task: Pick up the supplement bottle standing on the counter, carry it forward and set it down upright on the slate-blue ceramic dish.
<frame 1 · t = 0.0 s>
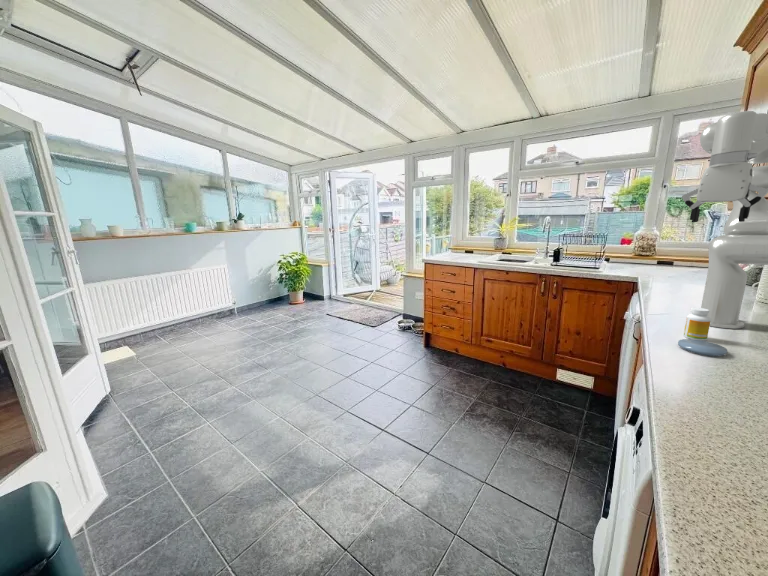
hand: (716, 221, 91), 37 cm above the countertop, tool pointing down, fingers open, 9 cm apart
supplement bottle: (694, 338, 99), on the countertop
dish: (700, 350, 90), on the countertop
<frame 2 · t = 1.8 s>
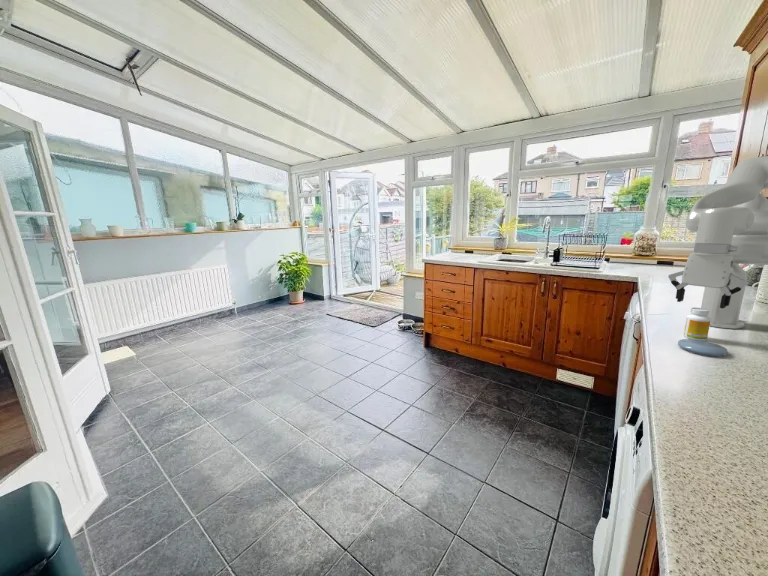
hand: (700, 304, 96), 11 cm above the countertop, tool pointing down, fingers open, 9 cm apart
nothing on the countertop moved.
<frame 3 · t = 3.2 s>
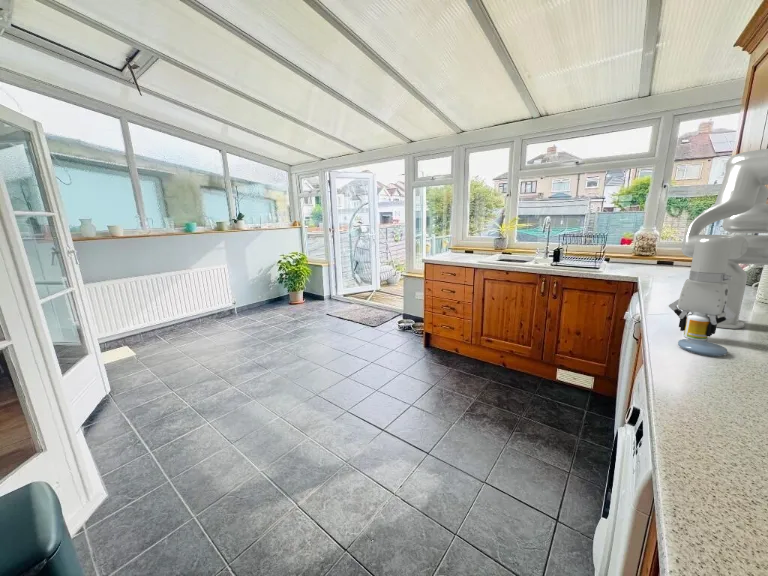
hand: (695, 332, 98), 2 cm above the countertop, tool pointing down, fingers closed on supplement bottle, 5 cm apart
supplement bottle: (694, 338, 99), on the countertop, touching gripper
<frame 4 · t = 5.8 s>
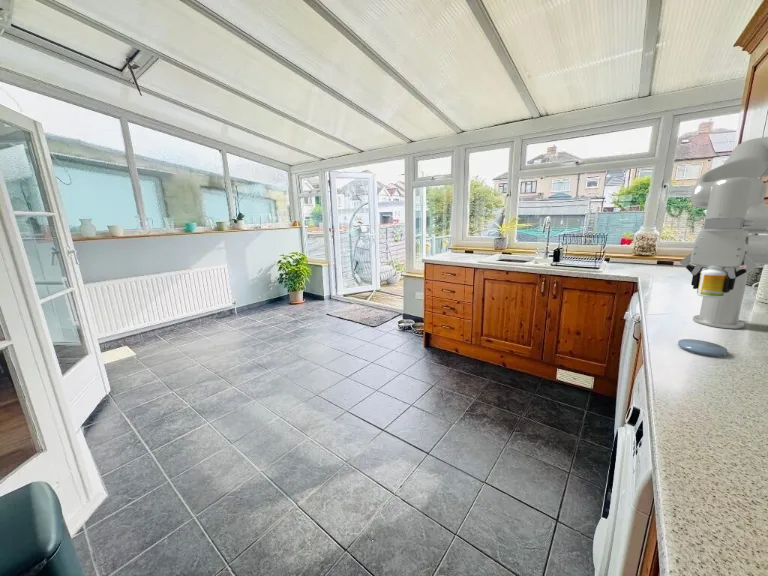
hand: (710, 289, 87), 18 cm above the countertop, tool pointing down, fingers closed on supplement bottle, 5 cm apart
supplement bottle: (709, 296, 88), point 16 cm above the countertop, touching gripper
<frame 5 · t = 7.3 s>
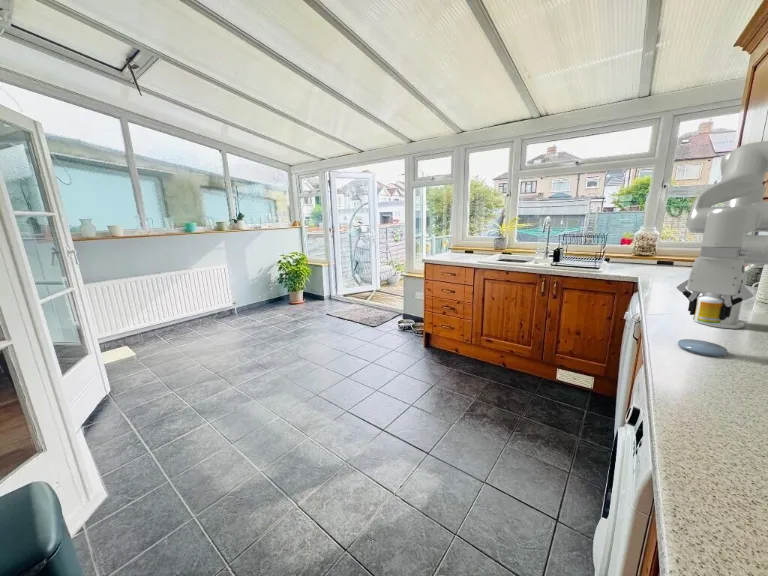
hand: (707, 316, 88), 11 cm above the countertop, tool pointing down, fingers closed on supplement bottle, 5 cm apart
supplement bottle: (706, 323, 88), point 8 cm above the countertop, touching gripper
when the fingers open (5 cm above the countertop, at t = 8.7 s): supplement bottle drops 2 cm, resting on dish.
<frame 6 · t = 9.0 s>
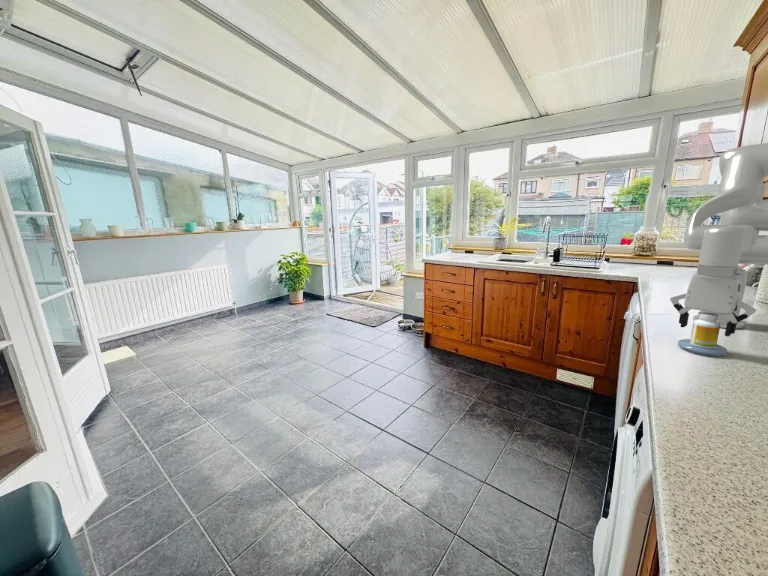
hand: (704, 330, 89), 6 cm above the countertop, tool pointing down, fingers open, 8 cm apart
supplement bottle: (702, 346, 90), point 1 cm above the countertop, touching dish
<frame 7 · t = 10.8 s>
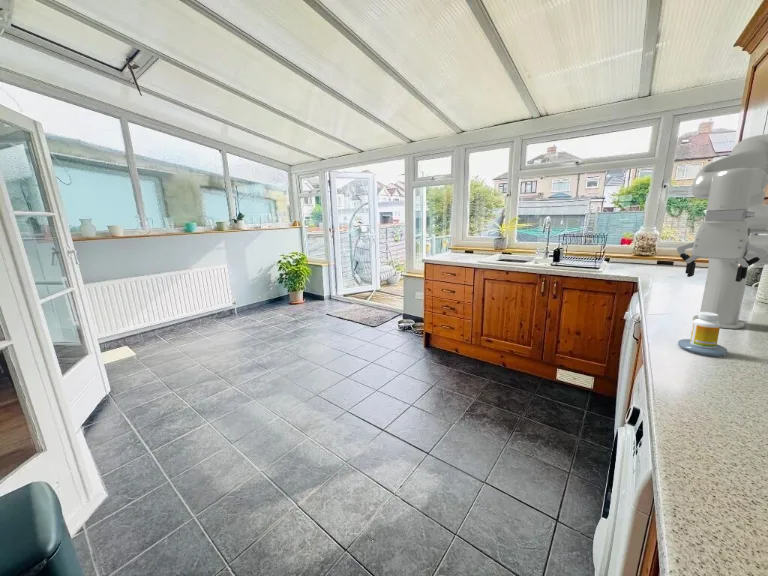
hand: (713, 278, 87), 21 cm above the countertop, tool pointing down, fingers open, 9 cm apart
nothing on the countertop moved.
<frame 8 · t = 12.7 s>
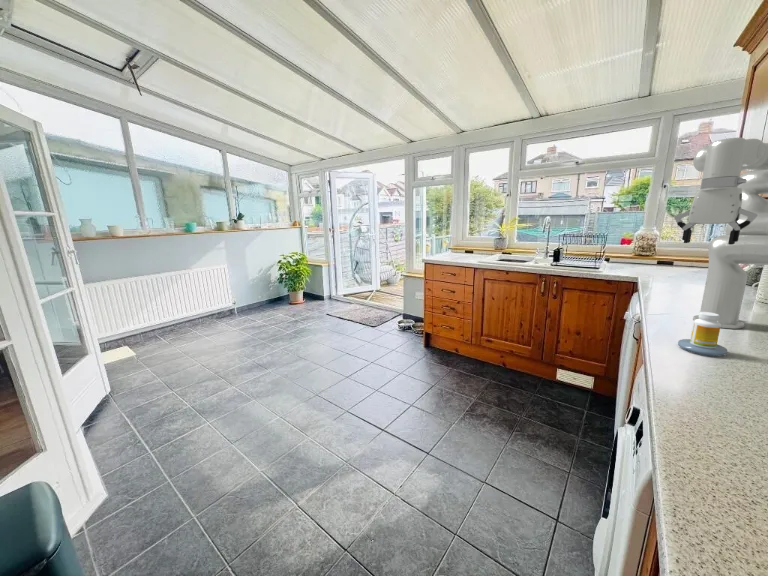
hand: (708, 243, 93), 30 cm above the countertop, tool pointing down, fingers open, 9 cm apart
nothing on the countertop moved.
at the end: supplement bottle 0.2 cm off-centre on the dish, point 1.3 cm above the dish's base; supplement bottle tilted 0°; the gripper is holding nothing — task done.
